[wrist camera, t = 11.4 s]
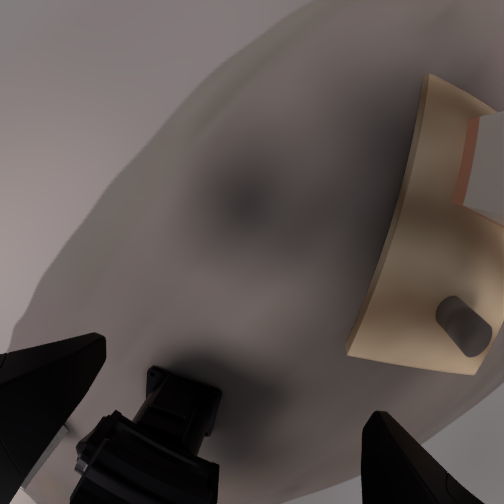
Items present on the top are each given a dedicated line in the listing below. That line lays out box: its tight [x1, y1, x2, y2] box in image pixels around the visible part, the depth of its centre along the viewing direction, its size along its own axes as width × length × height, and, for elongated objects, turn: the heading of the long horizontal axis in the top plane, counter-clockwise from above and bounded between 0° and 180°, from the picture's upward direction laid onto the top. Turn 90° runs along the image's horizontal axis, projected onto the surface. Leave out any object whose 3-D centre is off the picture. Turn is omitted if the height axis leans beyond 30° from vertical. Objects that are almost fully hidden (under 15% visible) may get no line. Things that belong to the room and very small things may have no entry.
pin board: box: [345, 73, 504, 375], centre depth 15 cm, size 20×13×6 cm, turn 166°
